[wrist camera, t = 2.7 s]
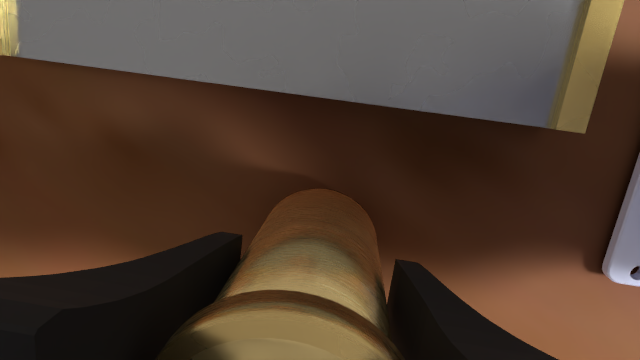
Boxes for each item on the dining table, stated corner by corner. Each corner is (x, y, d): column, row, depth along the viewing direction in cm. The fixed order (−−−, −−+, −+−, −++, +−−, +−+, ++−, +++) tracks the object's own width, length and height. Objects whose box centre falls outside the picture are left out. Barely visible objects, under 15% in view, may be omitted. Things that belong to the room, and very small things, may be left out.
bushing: (396, 190, 13) (459, 349, 5) (374, 313, 14) (399, 589, 7) (259, 170, 13) (129, 295, 6) (248, 292, 14) (127, 537, 7)
